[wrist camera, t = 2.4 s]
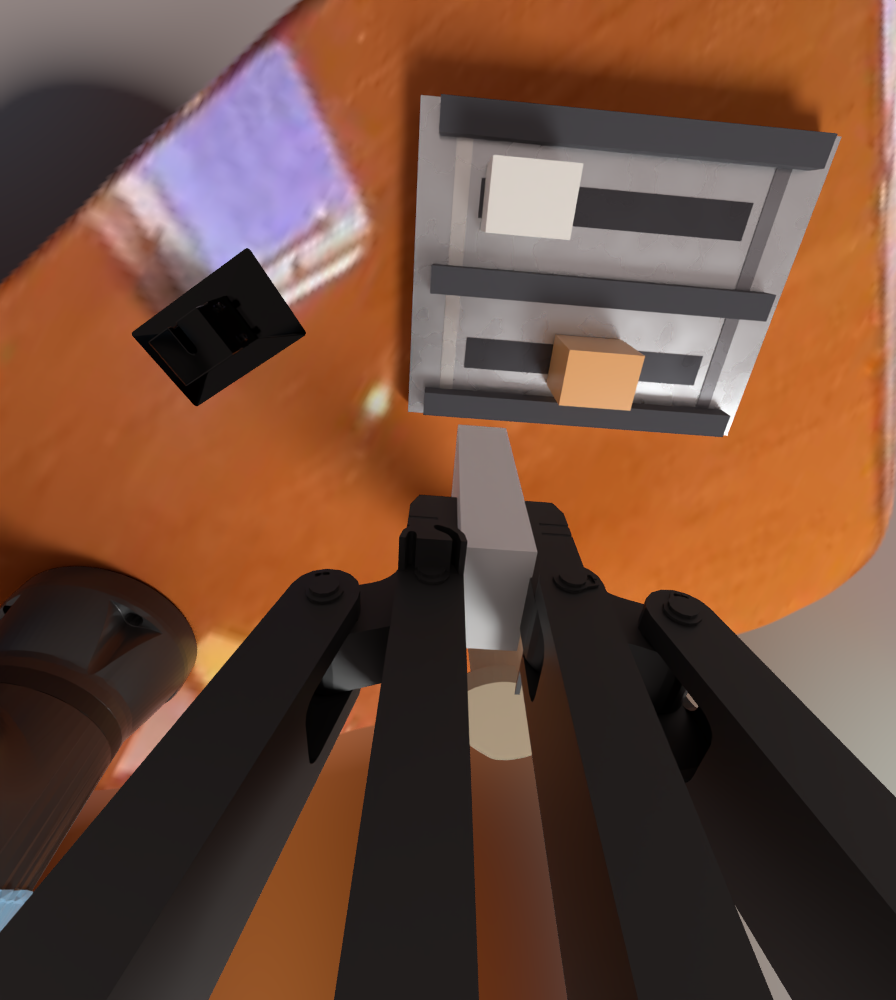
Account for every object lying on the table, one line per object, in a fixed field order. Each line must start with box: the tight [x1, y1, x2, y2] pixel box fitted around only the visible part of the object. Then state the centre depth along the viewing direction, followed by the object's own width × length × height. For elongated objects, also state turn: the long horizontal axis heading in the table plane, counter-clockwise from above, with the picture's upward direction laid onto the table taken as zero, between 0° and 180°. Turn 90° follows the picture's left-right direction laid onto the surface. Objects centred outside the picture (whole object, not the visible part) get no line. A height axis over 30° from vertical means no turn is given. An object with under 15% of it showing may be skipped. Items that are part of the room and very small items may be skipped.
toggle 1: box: [481, 155, 584, 240], centre depth 24 cm, size 4×3×4 cm
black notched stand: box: [132, 248, 306, 406], centre depth 29 cm, size 12×7×5 cm, turn 120°
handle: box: [467, 634, 532, 760], centre depth 33 cm, size 5×6×15 cm
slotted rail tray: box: [423, 94, 837, 437], centre depth 28 cm, size 19×16×1 cm
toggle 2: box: [546, 334, 645, 411], centre depth 28 cm, size 4×3×4 cm
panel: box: [408, 95, 841, 435], centre depth 29 cm, size 21×16×2 cm
